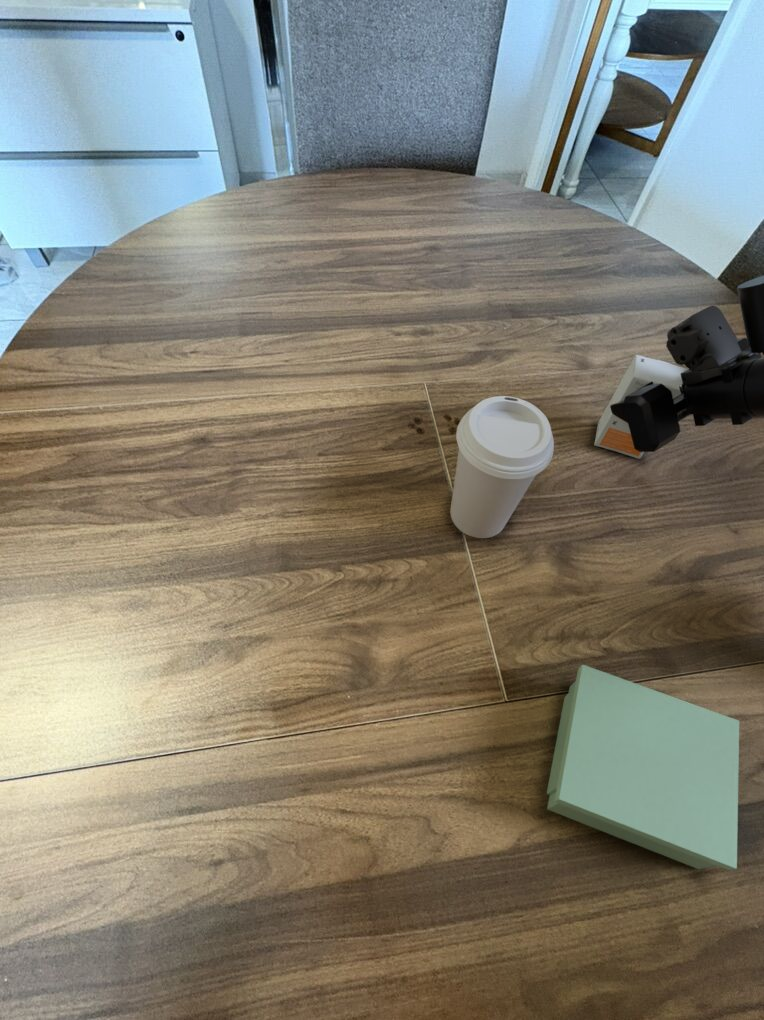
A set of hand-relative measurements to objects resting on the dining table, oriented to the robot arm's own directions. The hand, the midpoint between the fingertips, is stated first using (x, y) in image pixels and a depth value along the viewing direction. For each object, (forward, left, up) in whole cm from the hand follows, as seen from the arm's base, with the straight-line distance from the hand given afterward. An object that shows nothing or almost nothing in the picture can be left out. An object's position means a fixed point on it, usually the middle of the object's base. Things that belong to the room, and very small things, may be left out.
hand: (631, 398), depth 74 cm
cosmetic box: (-1, +1, -7) cm, 7 cm away
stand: (-7, +41, -7) cm, 42 cm away
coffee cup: (+13, +19, -7) cm, 24 cm away
